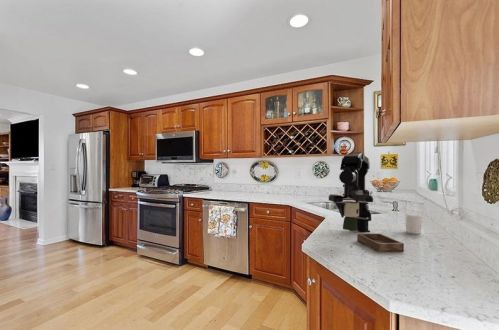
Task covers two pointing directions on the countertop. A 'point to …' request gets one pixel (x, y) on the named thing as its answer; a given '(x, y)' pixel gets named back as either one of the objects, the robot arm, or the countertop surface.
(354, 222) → the character mug
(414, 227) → the white cup
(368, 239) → the box
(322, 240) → the countertop surface
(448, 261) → the countertop surface
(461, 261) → the countertop surface
